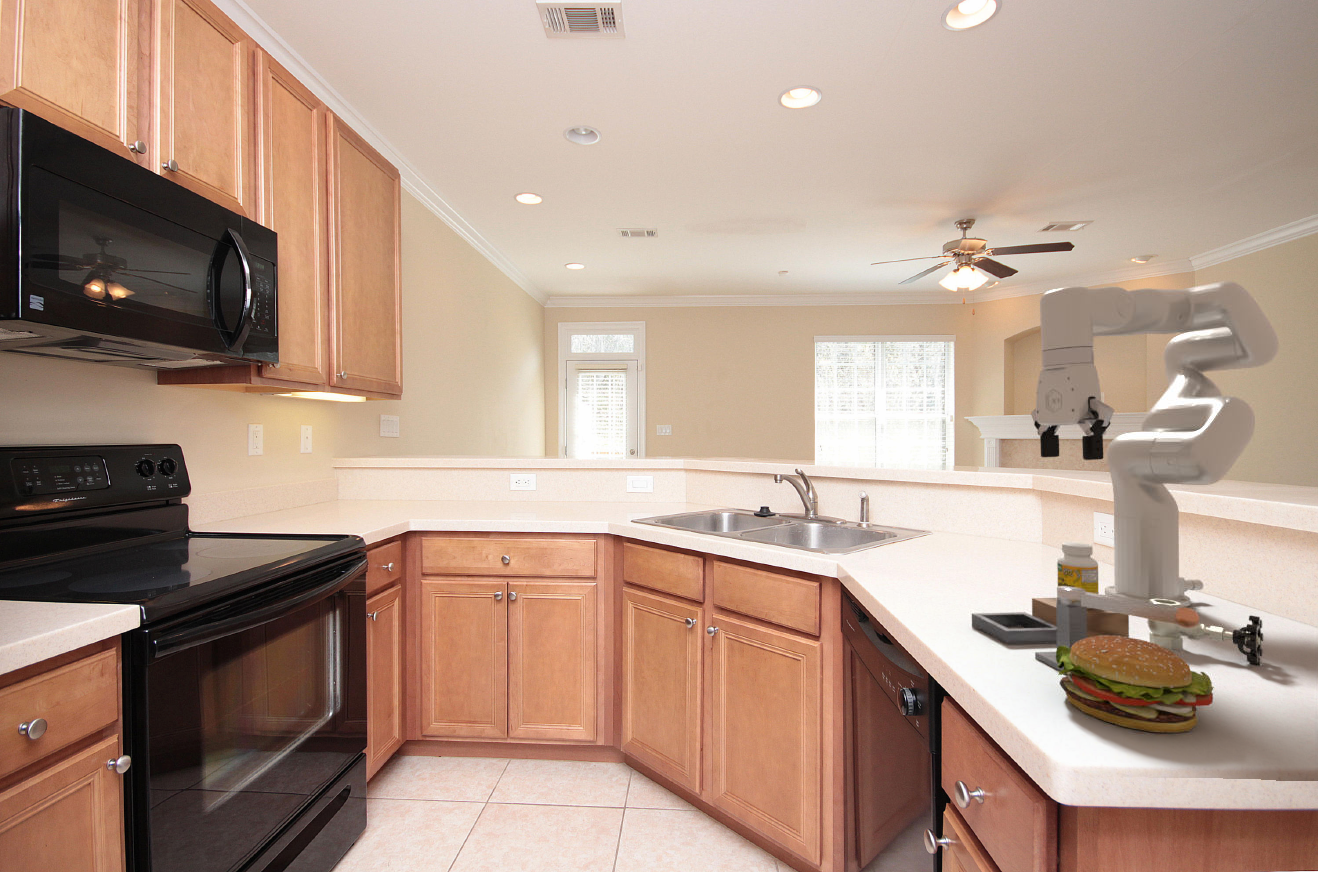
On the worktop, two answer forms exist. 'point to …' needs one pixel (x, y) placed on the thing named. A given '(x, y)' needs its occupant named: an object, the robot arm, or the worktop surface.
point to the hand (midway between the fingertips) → (1070, 458)
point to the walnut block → (1096, 618)
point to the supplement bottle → (1078, 567)
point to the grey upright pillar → (1066, 631)
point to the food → (1133, 683)
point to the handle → (1127, 606)
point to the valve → (1206, 634)
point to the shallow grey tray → (1031, 634)
